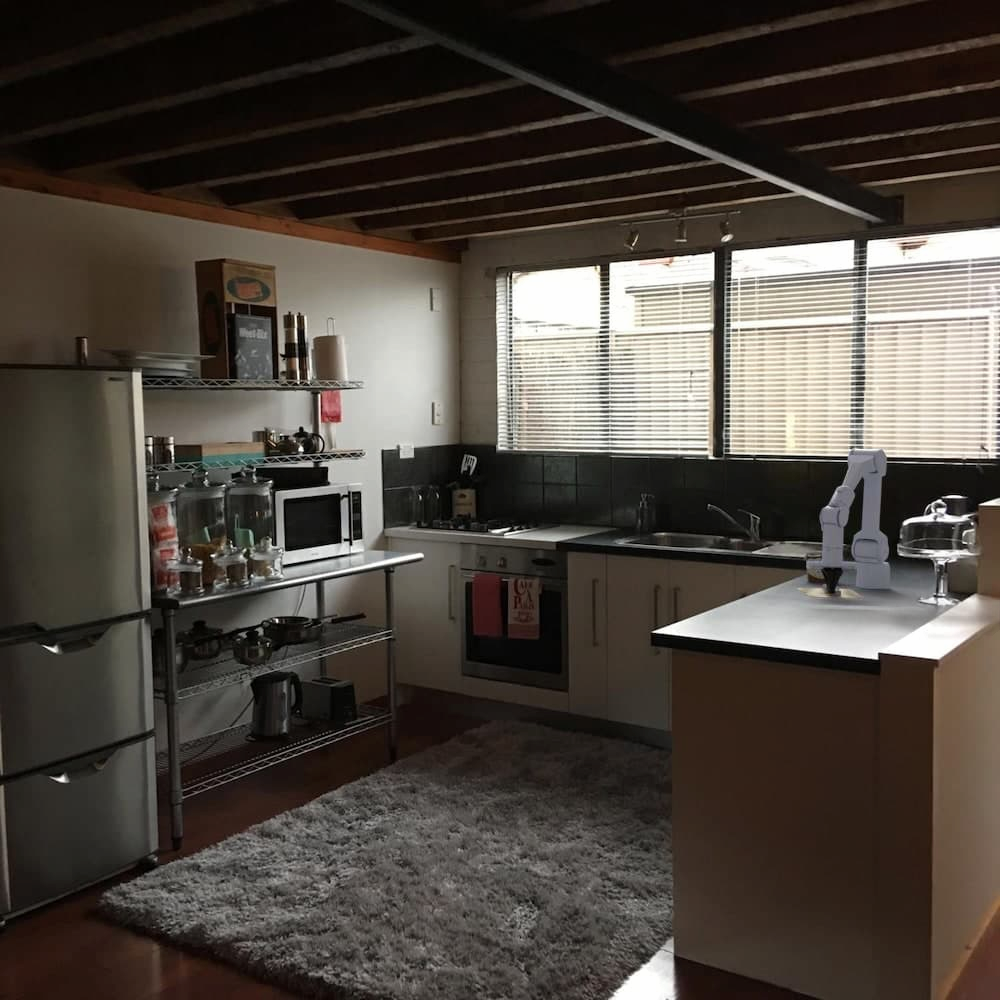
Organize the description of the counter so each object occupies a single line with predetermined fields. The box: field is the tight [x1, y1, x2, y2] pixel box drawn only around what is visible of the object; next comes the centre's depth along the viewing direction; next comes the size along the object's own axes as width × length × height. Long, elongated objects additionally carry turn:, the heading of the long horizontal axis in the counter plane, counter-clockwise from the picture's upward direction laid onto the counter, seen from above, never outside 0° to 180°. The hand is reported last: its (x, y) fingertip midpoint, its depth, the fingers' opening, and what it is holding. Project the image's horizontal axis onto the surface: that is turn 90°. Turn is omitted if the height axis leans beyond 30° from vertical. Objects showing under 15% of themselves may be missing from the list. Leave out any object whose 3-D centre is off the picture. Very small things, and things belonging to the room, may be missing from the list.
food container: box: [803, 551, 845, 584], centre depth 345 cm, size 12×6×10 cm, turn 84°
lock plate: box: [796, 583, 865, 599], centre depth 322 cm, size 16×16×3 cm
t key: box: [821, 583, 841, 596], centre depth 322 cm, size 12×4×2 cm, turn 2°
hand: (830, 593), depth 318 cm, fingers closed
